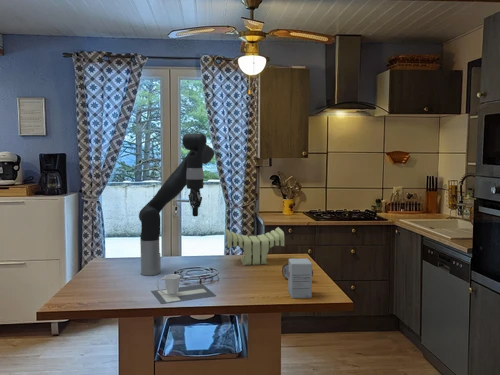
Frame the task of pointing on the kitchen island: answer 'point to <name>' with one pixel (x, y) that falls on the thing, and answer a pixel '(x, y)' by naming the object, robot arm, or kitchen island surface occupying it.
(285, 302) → the kitchen island surface
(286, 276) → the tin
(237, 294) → the kitchen island surface
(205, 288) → the t mat
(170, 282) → the cup
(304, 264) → the supplement box
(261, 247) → the slatted curved stool
